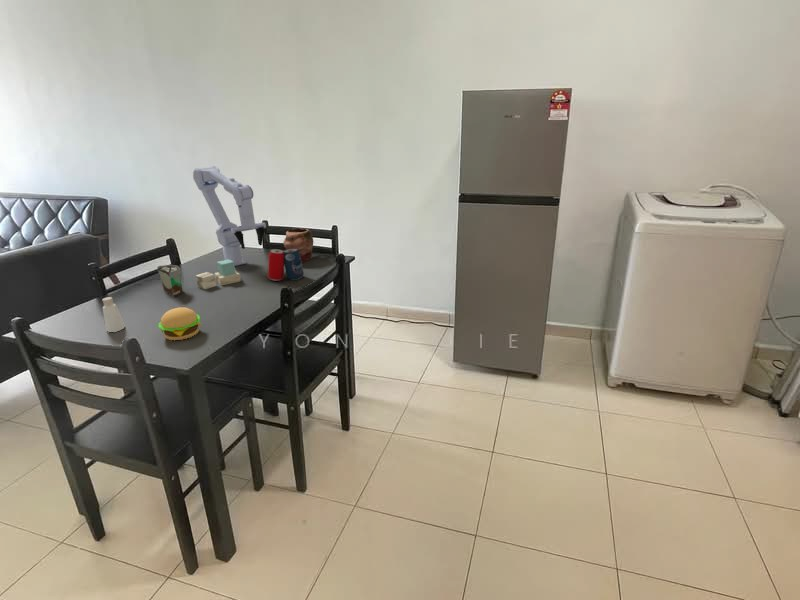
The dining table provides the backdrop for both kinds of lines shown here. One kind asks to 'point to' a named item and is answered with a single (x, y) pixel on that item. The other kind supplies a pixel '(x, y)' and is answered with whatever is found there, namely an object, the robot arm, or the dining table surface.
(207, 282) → the maple cube
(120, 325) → the pepper shaker
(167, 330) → the hamburger
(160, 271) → the food container
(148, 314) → the dining table surface
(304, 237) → the decorative planter
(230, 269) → the teal cube
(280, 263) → the beverage can
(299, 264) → the soda can
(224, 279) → the beech base
